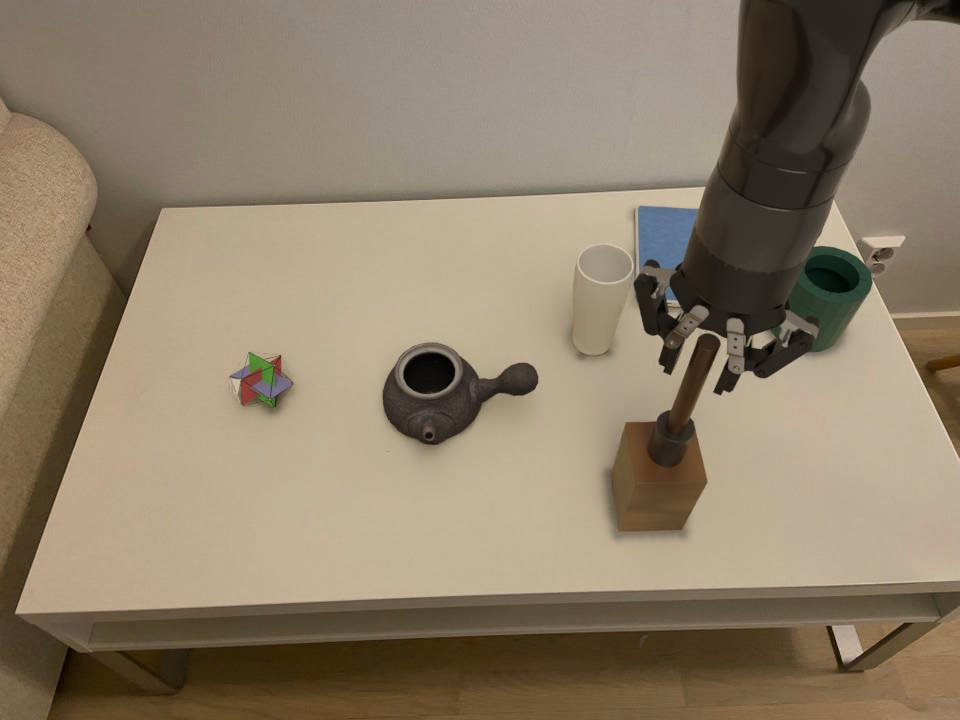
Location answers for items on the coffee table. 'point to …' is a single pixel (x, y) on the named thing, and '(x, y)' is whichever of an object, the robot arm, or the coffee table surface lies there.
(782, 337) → the robot arm
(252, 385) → the geometric puzzle
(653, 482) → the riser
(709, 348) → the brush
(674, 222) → the tablet
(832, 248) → the green hollow cylinder
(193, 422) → the coffee table surface
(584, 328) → the white tall cup
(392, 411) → the teapot
